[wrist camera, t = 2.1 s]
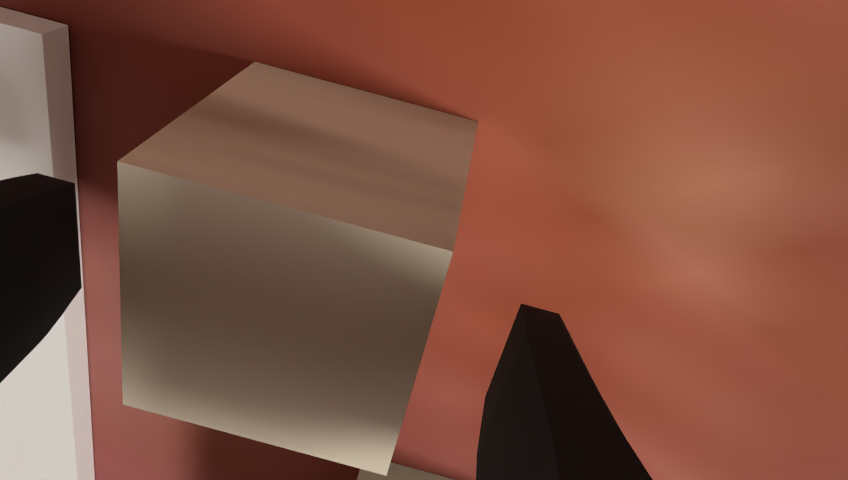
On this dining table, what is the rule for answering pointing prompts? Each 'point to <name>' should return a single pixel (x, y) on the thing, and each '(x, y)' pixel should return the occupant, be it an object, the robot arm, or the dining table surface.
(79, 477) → the white flat slab
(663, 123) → the dining table surface
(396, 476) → the sage block
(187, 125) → the maple block
